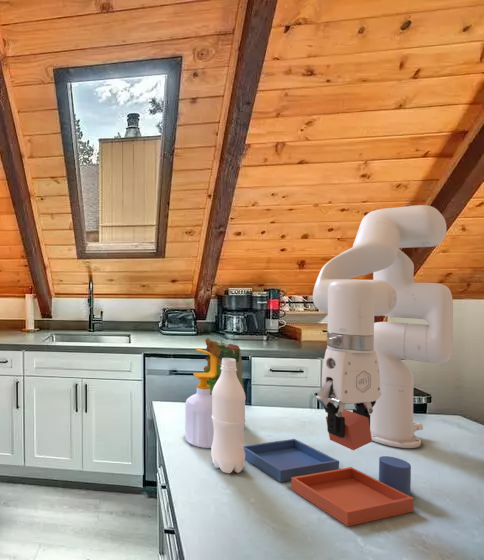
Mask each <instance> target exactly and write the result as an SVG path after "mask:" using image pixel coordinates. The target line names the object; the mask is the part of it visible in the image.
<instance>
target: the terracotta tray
mask: <svg viewBox="0 0 484 560" xmlns="http://www.w3.org/2000/svg"><path fill="white" fill-rule="evenodd" d="M290 481H291V483H290V490H292V491H293V492H295V493H296V494H298V495H299V496H301V497H302V498H303V499H305V500H306V501H309V502H310V503H311V504H313V505H314V506H316V507H317V508H319V509H320V510H322V511H323V512H324V513H327V514H328V515H330V516H331V517H333V518H334V519H335V520H337V521H338V522H340V523H342V524H343V525H345V526H346V527H350V526H355V525H360V524H364V523H368V522H369V523H370V522H373V521H377V520H382V519H386V518H390V517H395V516H399V515H403V514H409V513H412V512H414V511H415V498H414V497H412V496H411V495H410V496H408V495H406V494H404V493H402V492H400V491H398V490H396V489H394V488H392V487H390V486H388V485H386V484H384V483H382V482H380V481H379V479H377V478H375V477H372V476H370V475H368V474H366V473H364V472H362V471H360V470H358V469H357V468H354V467H353V466H348V467H344V468H343V467H342V468H339V469H337V470H331V471H326V472H320V473H314V474H308V475H303V476H297V477H291V480H290Z"/></svg>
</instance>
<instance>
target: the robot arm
mask: <svg viewBox="0 0 484 560" xmlns="http://www.w3.org/2000/svg"><path fill="white" fill-rule="evenodd" d="M447 231H448V230H447V222H446V219H445V217H444V216H443V214H442V213H441V212H440V211H439V210H438V209H437V208H436V207H434V206H433V205H432V206H431V205H427V204H418V205H408V206H397V207H387V208H380V209H375V210H372V211H370V212H368V213H366V215H364V216H363V218H362V219H361V221H360V224H359V227H358V230H357V231H356V235H355V238H354V241H353V243H352V246H351V247H350V248H348V249H346V250H344V251H342V252H340V253H339V254H337V255H336V256H334V257H333V258H331V259H329V261H327V262H326V263H325V264H324V265H323V266H322V267H321V269H320V271H319V272H318V276H317V278H316V281H315V283H314V285H313V286H314V287H313V290H312V301H313V305H314V307H315V308H316V309H317V310H319V311H320V312H323V313H326V314H327V333H326V335H327V336H326V349H325V353H324V357H323V364H322V365H323V366H322V371H321V389H320V391H318V393H317V395H316V397H315V399H316V400H317V401H318V402H319V403H320V405H321V406H322V408H323V409H324V412H325V413H327V416H328V422H327V421H326V426H327V427H326V430H327V432H328V434H329V433H331V434H333V435H336V436H338V437H340V438H343V437H344V436H345V417H342V414H343V411H344V409H345V407H346V405H354V409H352V412H354V413H357V414H359V415H362V416H365V417H368V420H369V425H370V431H371V437H372V442H375V443H379V444H382V445H385V446H389V447H393V448H401V449H417V448H419V447H420V446H421V445H422V441H421V438H419V437H418V436H416V435H415V432H416V431H422V430H424V426H423V424H422V423H421V422H414V387H415V383H414V382H415V379H414V375H413V373H412V371H411V370H410V369H409V367H408V366H407V365H406V364H405V363H404V362H403V361H402V360H406V361H407V360H408V361H416V362H424V363H431V364H444V363H448V361H450V359H451V357H452V355H453V343H454V341H453V340H454V339H453V338H454V337H453V336H454V335H453V334H454V300H453V294H452V292H451V289H450V288H449V287H448V286H447V285H445V284H443V283H439V282H416V281H415V278H414V275H415V273H414V272H415V264H414V261H412V260H411V258H410V257H409V256H408V255H407V254H406V253H405V252H404V251H402V250H401V249H406V248H409V249H410V248H431V247H437V246H439V245H441V244H442V243H443V242H444V241H445V238H446V236H447ZM370 274H373V275H372V279H357V278H358V277H363V276H366V275H370ZM354 278H356V279H354ZM375 317H389V318H402V319H414V320H415V319H417V320H424V321H426V322H427V323H428V324H421V323H408V322H396V321H377V322H376V321H375ZM335 403H337V405H336V406H335Z"/></svg>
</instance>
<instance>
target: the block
mask: <svg viewBox="0 0 484 560" xmlns="http://www.w3.org/2000/svg"><path fill="white" fill-rule="evenodd" d="M342 417H345V436H344V437H343V438H340V437H338V436H336V435H333V434H331V433H329V432H328V437H329V440H330V441H331V442H333V443H336V444H338V445H341V446H343V447H344V448H347V449H349V450H351V451H356V450H357V449H359V448H361V447H363V446H366V445H368V444H370V443H372V442H373V441H372V437H371V431H370V425H369V420H368V417H365V416H362V415H359V414H357V413H354V412H353V411H350V410H348V409H345V408H344V411H343V414H342ZM325 421H326V423H327V422H328V415H327V416H325Z"/></svg>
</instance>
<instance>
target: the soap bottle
mask: <svg viewBox="0 0 484 560" xmlns="http://www.w3.org/2000/svg"><path fill="white" fill-rule="evenodd" d="M195 350H196V351H197V352H199V353H202V354H205V355H207V354H208V355H210V358H211V363H210V372H209V373H204V372H193V373H192V374H193V376H194V377H195V378H196V379H197V380H199V383H197V384H196V393H194V394H192V395H190V396H189V397H187V399H186V400H185V403H184V404H185V407H184V408H185V409H184V410H185V411H184V412H185V415H184V420H185V421H184V433H185V434H184V439H185V441H186V442H187V443H188V444H189V445H192V446H195V447H197V448H204V449H211V447H212V443H213V436H214V427H213V421H212V396H211V395H210V386H209V385H207V381H208V380H209V378H215V377H216V375H217V358H216V356H214V355H213V354H211V353H210V352H208V351H207V350H206V349H201V348H198V347H196V348H195ZM208 355H207V356H208Z"/></svg>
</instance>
